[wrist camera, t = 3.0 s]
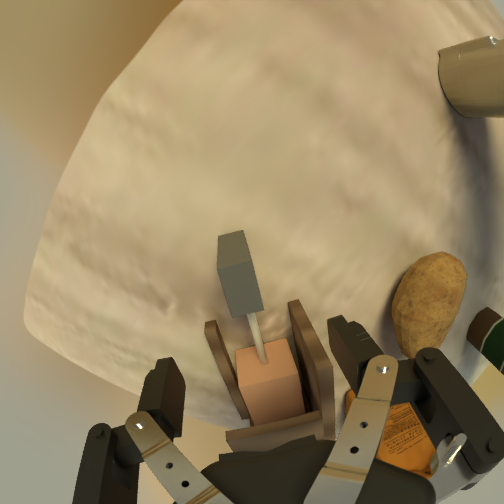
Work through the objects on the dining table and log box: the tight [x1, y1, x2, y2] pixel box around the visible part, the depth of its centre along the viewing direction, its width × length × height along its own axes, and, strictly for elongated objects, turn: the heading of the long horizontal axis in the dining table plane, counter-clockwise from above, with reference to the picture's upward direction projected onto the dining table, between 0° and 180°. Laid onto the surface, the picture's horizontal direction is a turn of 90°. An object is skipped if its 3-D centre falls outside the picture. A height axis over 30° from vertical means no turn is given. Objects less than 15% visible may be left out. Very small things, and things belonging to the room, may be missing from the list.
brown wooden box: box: [204, 299, 335, 452], centre depth 27 cm, size 16×10×11 cm, turn 13°
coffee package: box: [346, 390, 435, 479], centre depth 27 cm, size 10×12×22 cm
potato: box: [392, 252, 467, 359], centre depth 28 cm, size 10×14×8 cm
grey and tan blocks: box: [217, 230, 305, 426], centre depth 26 cm, size 24×6×8 cm, turn 13°
